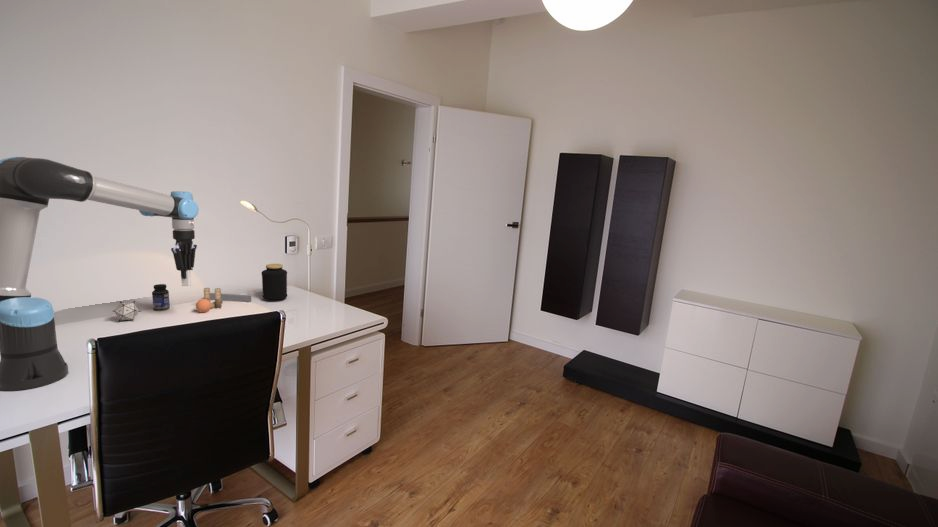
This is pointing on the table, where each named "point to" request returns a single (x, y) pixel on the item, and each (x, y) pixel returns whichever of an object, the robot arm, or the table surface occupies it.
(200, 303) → the ball
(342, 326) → the table surface
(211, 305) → the pin front
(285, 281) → the container
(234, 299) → the back wall
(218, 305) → the pin
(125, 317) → the game die
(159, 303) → the pill bottle
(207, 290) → the pin
